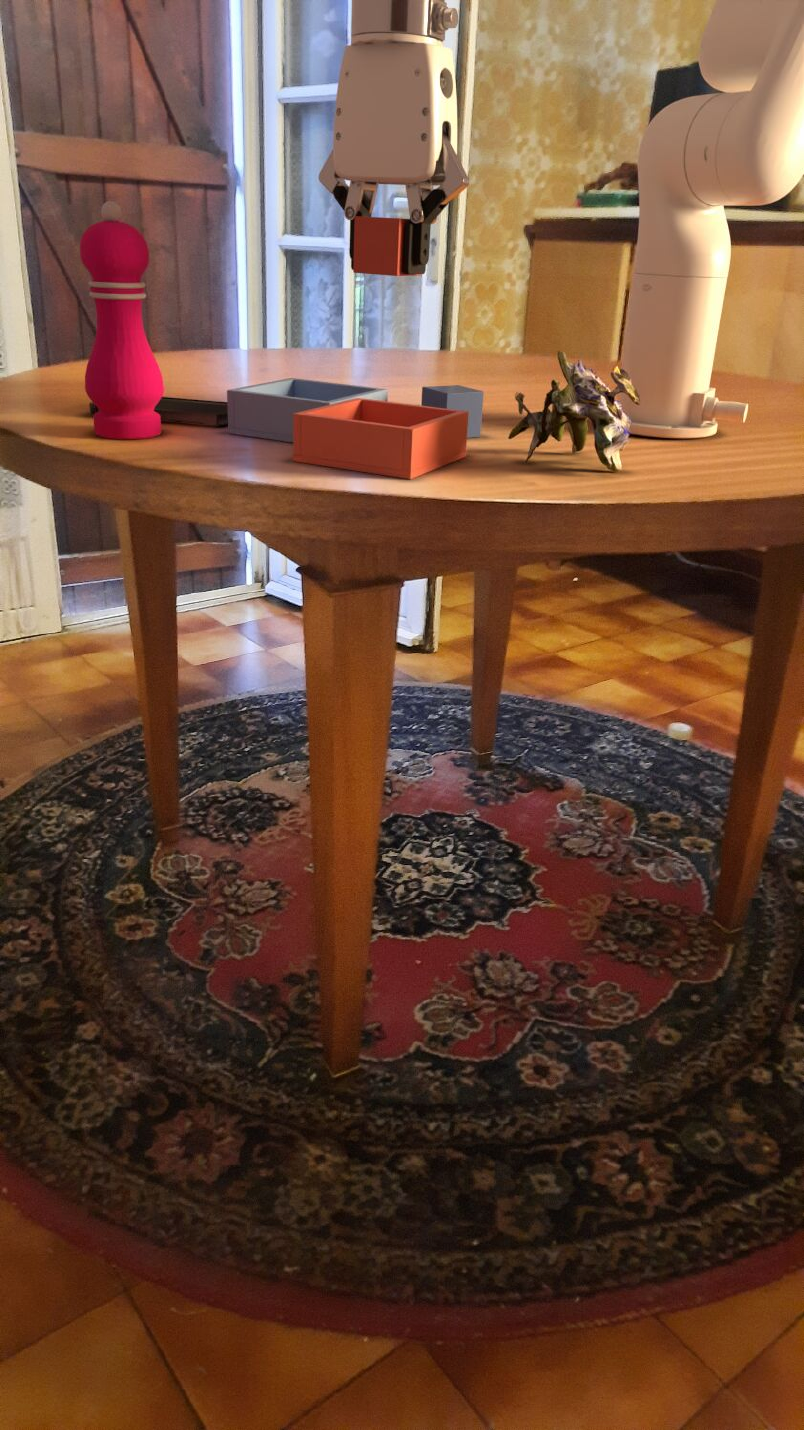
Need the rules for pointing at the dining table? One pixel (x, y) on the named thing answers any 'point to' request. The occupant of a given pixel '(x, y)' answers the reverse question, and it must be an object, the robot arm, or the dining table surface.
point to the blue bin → (286, 404)
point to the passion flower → (582, 412)
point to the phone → (188, 411)
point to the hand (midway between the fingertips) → (388, 269)
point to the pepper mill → (120, 331)
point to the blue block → (457, 403)
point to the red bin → (380, 437)
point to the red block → (379, 246)
